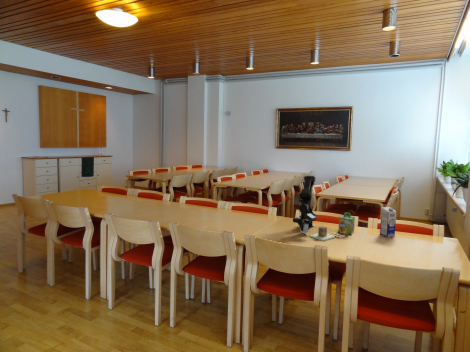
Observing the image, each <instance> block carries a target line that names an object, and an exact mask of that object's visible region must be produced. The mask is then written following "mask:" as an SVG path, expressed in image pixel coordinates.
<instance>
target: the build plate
mask: <svg viewBox="0 0 470 352" xmlns="http://www.w3.org/2000/svg"><path fill="white" fill-rule="evenodd" d="M329 234H330V233H327V236H325V237H321V236H318V232H317V233H314V234H309V237H311V238H312V239H316V240H319V241H323V242H325V240H326V241H329V240H332V238H333V239H335V238H336V237H335V236H332V235H329Z"/></svg>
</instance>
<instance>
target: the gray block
mask: <svg viewBox="0 0 470 352" xmlns="http://www.w3.org/2000/svg"><path fill="white" fill-rule="evenodd" d="M299 230H300V231H299V232H300V233H303V234H307V233H309V228H308V224H306V223H304V226H303V231H301V229H300V228H299Z"/></svg>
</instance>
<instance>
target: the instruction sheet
mask: <svg viewBox="0 0 470 352" xmlns="http://www.w3.org/2000/svg"><path fill="white" fill-rule="evenodd" d="M337 234H338V233H337ZM337 234H333V235H336V236H337V237H336V238H338V237H339V239H341V238H344V237H346V235H345V234H342V233H339V234H340V235H337Z"/></svg>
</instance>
